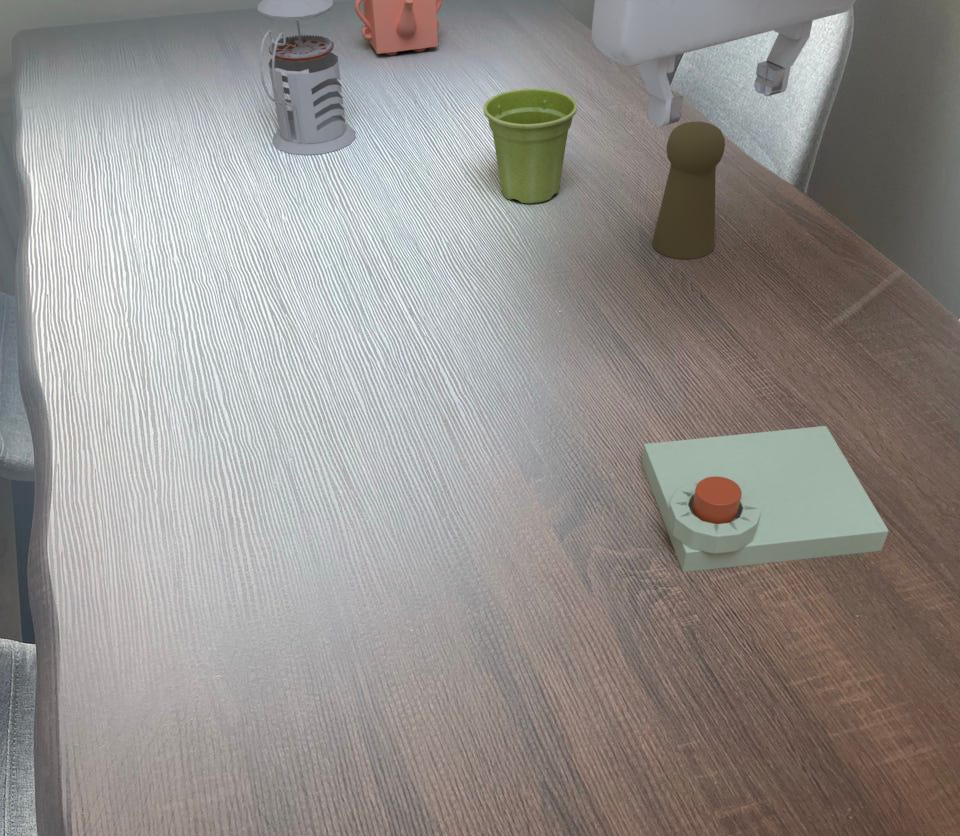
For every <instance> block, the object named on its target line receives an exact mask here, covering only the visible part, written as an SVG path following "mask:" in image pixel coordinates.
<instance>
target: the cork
mask: <svg viewBox="0 0 960 836" xmlns="http://www.w3.org/2000/svg"><path fill="white" fill-rule="evenodd" d="M725 147H726V141H725V136H724V134H723V131H722V130H721V129H720V128H719V127H717V126H716V125H715V124H712V123H709V122H705V121H688V122H683V123H681V124H679V125H676V126H675V127H674V128H673V129H672V131H671V132H670V134H669V137H668V139H667V141H666V156H667V159H668V161H669V163H670V165H669V171H668V175H667V179H666V183H665V188H664V192H663V195H662V200H661V204H660V209H659V213H658V216H657V221H656V225H655V230H654V234H653V238H652V241H651V242H652V243H651V244H652V247H653V249H654V250H655V251H657V253H659V254H661V255H663V256H665V257H668V258H673V259H679V260H693V259H698V258H699V259H700V258H703V257H706V256H707V255H709V254H711V252H713V251H714V248H715V243H716V242H715V241H716V179H717V178H716V176H717V175H716V170H717V166H718V165H719V164H720V162H721V161H722V158H723V155H724V152H725Z"/></svg>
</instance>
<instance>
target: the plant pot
mask: <svg viewBox="0 0 960 836" xmlns="http://www.w3.org/2000/svg"><path fill="white" fill-rule="evenodd" d="M482 110H483V115H484V116H485V117H486V119H487V121H488V125H489V128H490V131H491V132H492V138H493V144H494V149H495V157H496V163H497V169H498V170H497V171H498V177H499V184H500V191H501V194H502V195H503V196H504V198H506V199H508V200H517V201H519V202H520V203H522V204H537V203H538V204H539V203H543V202H546V201H549V200H551V199H552V197H553V196H554V195H557V194H558V193H559V191H560V186H561V179H562V171H563V166H564V160H565V159H564V158H565V152H566V147H567V141H568V135H569V130H570V128H571V126H572V122H573V117H575V115H576V114H577V111H578V103H577V101H576V100H575V99H574V98H573V97H572V96H570V95H568V94H566V93H564V92H561V91H558V90H553V89H545V88H521V89H513V90H508V91H504V92H501V93H497V94H496V95H494V96H492V97H490V98H489V99H488V100H486V101H485V102H484V104H483V107H482Z"/></svg>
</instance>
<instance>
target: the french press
mask: <svg viewBox="0 0 960 836" xmlns="http://www.w3.org/2000/svg"><path fill="white" fill-rule="evenodd" d="M333 1H334V0H261V1H260V2H259V3H258V4H257V12H258V13H259V14H260V15H261V16H262V17H263V18H265V19H268V20H272V21H276V22H277V21H278V22H296V26H297V32H298V35H297V34H295V35H292V36H291V35H290V36H286V34H285V32H284V31H282V32H279V34H278V36H277V38H276V39H274V35H273V32H272V29H270V30H269V29H268V30H267V31H266V32H265V34H264V35H263V38H262V40H261V43H260V44H261V45H260V50H259V62H258V64H259V65H258V67H259V73H260V79H261V84H262V87H263V90H264V92H265V93H266V96H267V97H268V98H269V100H270V101H271V102H273V103H274V105H275V113H276V118H277V124H278V129H277V131H276V132H275V133H274V135H272V145H273V146H274V147H275V148H276V149H277V150H279V151H282V152H285V153H288V154H291V155H302V156H311V155H322V154H328V153H331V152H335V151H339V150H341V149H343V148H345V147H347V146H349V145H351V143H352V142H353V141H354V140H355V139H356V131H355V129H353V128H352V127H351V126H350V125H349V124H348V123H347V122H346V118H344V117H345V116H346V114H345V107H344V106H343V105H344V97H343V94H341V93H343V90H342V84H341V83H340V81H341V71H340V63H339V57H338V55H336V54H335V53H334V52H332V51H333V50H334V47H335V46H334V42H333V41H332V40H331V39H330V38H329V37H326V36H322V35H317V34H315V35H314V34H313V35H312V34H307V35H306V34H304V35H303V34H301V27H300V21H303V20H309V19H314V18H317V17H320V16H323V15H325V14H326V13H328V12H329V11H330V10H331V9H332V8H333V5H334V2H333ZM268 35H269V36H270V40H271V42H272V43H271V44H270V45H269V47H268V53H269V54H270V55H271V56H272V57H271V58H270V60H269V62H268V69H269V75H270V81H271V88H272V93H273V97H272V96H271V95H270V93H269V91H268V88H267V86H266V82H265V77H264V72H263V60H262V59H263V51H264V45H265V41H266V38H267V37H268ZM276 69H280V70H283V71H287V72H303V71H306V70H308V73H307V72H306V73H286V75H283V74H282V72H280V71H277V70H276ZM284 83H287V85H288V87H284ZM285 95H289V99H287V98H286V96H285ZM287 106H289V107H291V110H288V109H287V108H288V107H287Z"/></svg>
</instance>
